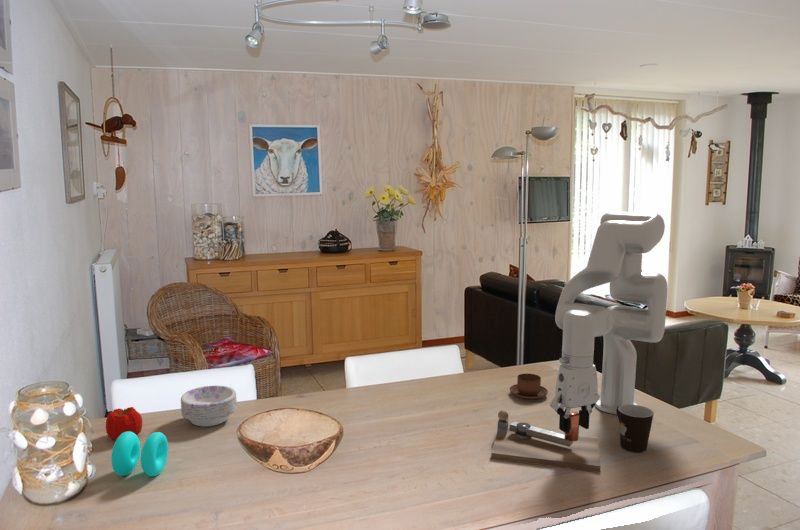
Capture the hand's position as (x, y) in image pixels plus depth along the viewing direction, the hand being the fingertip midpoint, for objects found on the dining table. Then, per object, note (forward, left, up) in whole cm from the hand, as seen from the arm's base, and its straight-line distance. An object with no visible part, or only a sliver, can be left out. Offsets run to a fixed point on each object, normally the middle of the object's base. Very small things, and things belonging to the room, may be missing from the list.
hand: (573, 428), depth 153 cm
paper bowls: (+6, -101, -7) cm, 101 cm away
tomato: (+22, -117, -7) cm, 119 cm away
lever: (-2, -7, -4) cm, 9 cm away
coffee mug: (-10, +15, -7) cm, 20 cm away
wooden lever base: (0, -7, -7) cm, 10 cm away
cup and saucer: (-40, -13, -7) cm, 43 cm away
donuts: (+38, -99, -7) cm, 106 cm away
